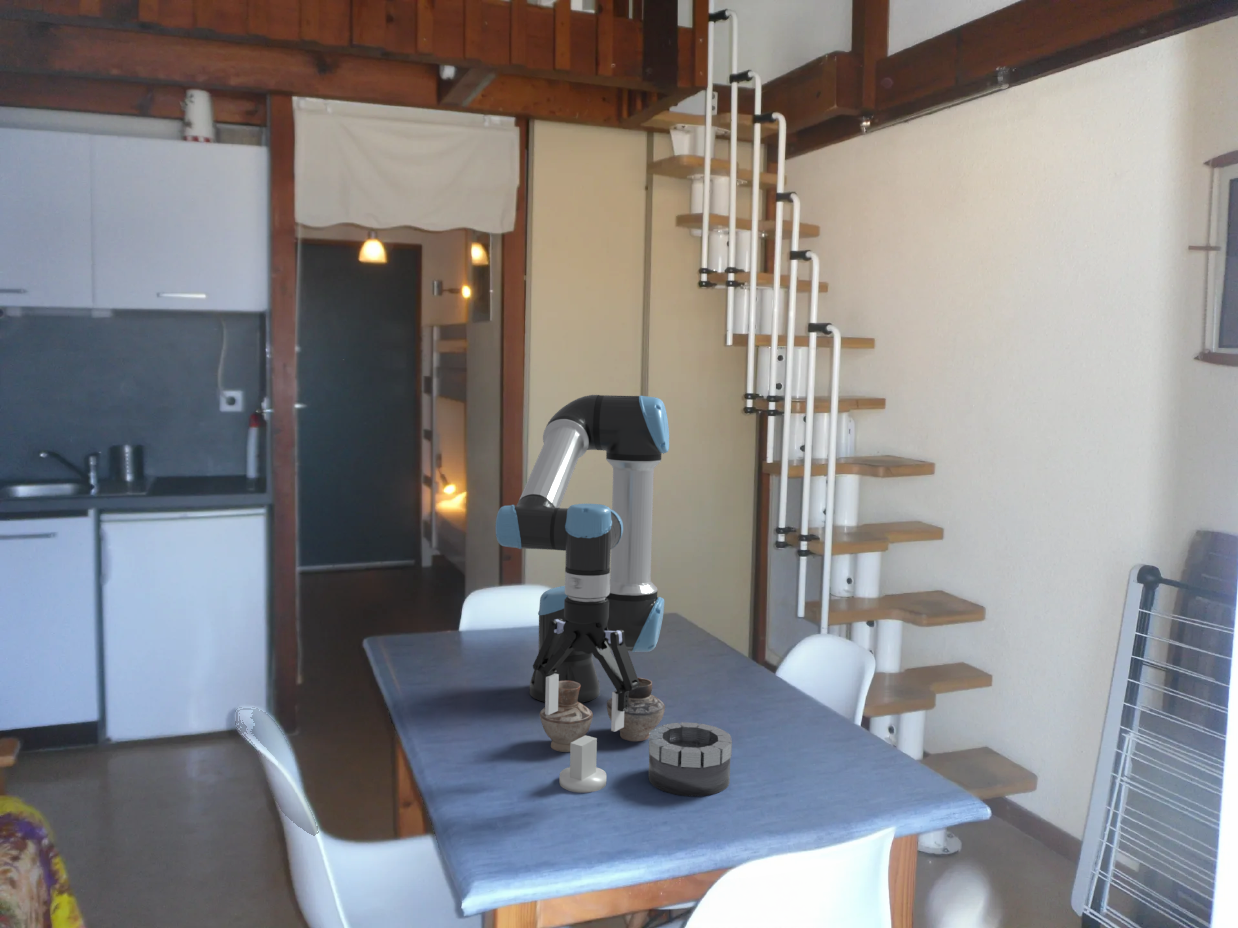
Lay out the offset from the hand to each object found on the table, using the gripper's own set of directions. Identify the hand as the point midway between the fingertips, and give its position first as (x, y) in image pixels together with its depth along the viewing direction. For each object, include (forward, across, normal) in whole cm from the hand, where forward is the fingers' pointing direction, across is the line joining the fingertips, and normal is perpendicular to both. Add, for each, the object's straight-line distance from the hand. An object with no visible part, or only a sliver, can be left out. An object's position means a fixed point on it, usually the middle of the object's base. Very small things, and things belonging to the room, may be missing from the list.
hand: (583, 720), depth 169 cm
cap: (+11, 0, 0) cm, 11 cm away
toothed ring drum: (+11, +14, +12) cm, 22 cm away
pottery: (+11, -8, +18) cm, 23 cm away
